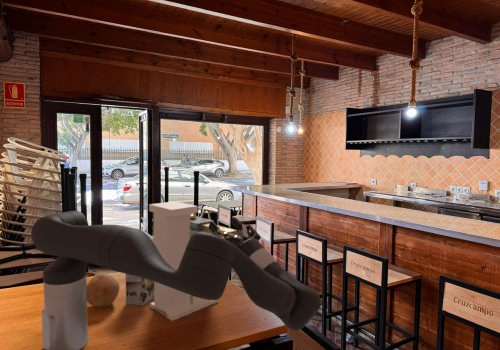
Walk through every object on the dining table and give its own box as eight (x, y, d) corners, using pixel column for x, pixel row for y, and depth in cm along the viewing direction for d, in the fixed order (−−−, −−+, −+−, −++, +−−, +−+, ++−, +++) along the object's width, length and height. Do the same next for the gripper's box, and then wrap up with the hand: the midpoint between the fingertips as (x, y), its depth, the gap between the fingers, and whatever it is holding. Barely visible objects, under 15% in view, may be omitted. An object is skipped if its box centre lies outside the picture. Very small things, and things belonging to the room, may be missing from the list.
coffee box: (144, 306, 106) (143, 255, 104) (125, 304, 107) (124, 253, 106) (157, 293, 115) (157, 246, 113) (140, 292, 116) (139, 245, 115)
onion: (125, 305, 106) (125, 274, 105) (93, 316, 99) (92, 283, 98) (111, 295, 113) (110, 266, 112) (79, 306, 105) (78, 274, 104)
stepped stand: (172, 320, 97) (171, 209, 94) (150, 306, 105) (149, 204, 103) (217, 302, 109) (218, 203, 107) (194, 290, 117) (194, 198, 115)
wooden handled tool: (224, 239, 94) (224, 226, 94) (178, 225, 110) (178, 214, 110) (241, 235, 99) (241, 223, 99) (194, 222, 114) (194, 212, 114)
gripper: (232, 276, 87) (198, 235, 96) (268, 263, 97) (235, 227, 106) (242, 255, 84) (206, 214, 93) (279, 244, 94) (243, 208, 103)
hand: (221, 221), depth 100 cm, fingers open, 8 cm apart
